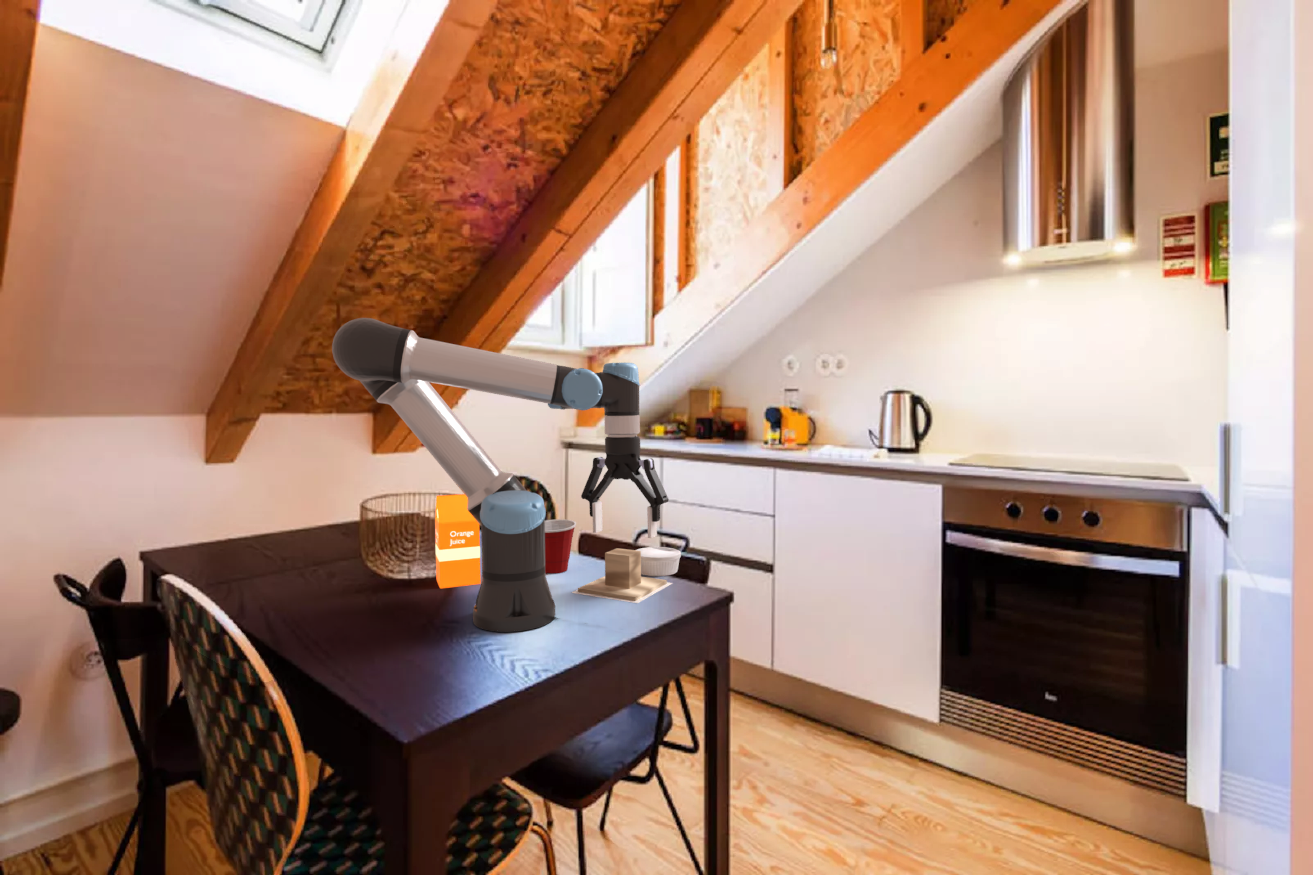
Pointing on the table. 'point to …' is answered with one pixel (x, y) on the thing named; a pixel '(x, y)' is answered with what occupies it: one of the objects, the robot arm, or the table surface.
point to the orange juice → (456, 543)
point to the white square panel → (625, 599)
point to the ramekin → (659, 561)
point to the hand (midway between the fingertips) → (624, 534)
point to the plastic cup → (558, 544)
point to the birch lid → (623, 577)
